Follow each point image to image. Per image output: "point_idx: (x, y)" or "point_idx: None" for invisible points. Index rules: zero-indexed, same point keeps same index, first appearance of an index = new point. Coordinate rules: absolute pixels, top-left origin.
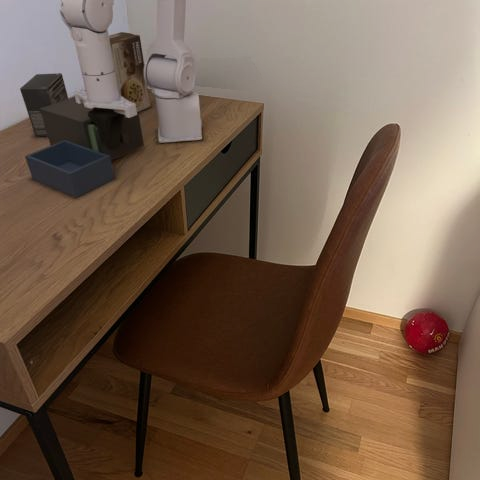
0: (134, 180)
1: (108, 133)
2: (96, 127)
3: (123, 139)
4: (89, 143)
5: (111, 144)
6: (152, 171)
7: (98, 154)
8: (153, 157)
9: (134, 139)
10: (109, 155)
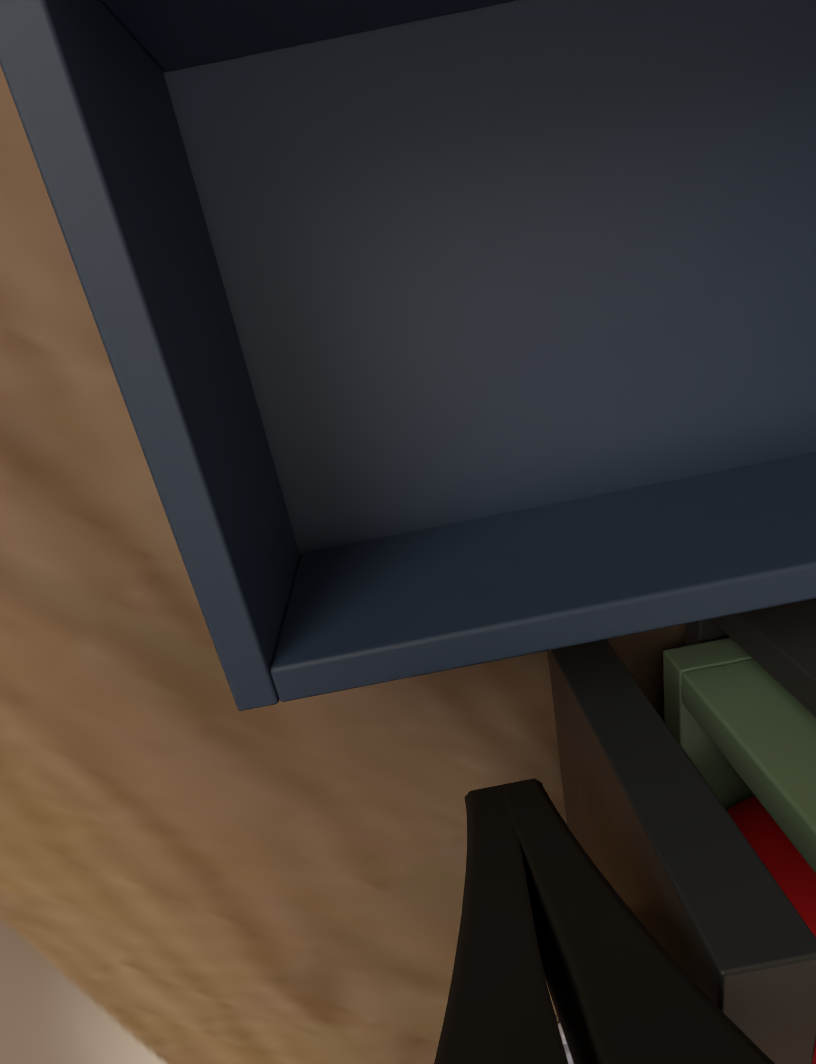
0: (151, 669)
1: (446, 1012)
2: (801, 987)
3: None
4: (810, 702)
5: (468, 851)
6: (212, 821)
7: (405, 634)
8: (416, 912)
9: None
10: (568, 727)
